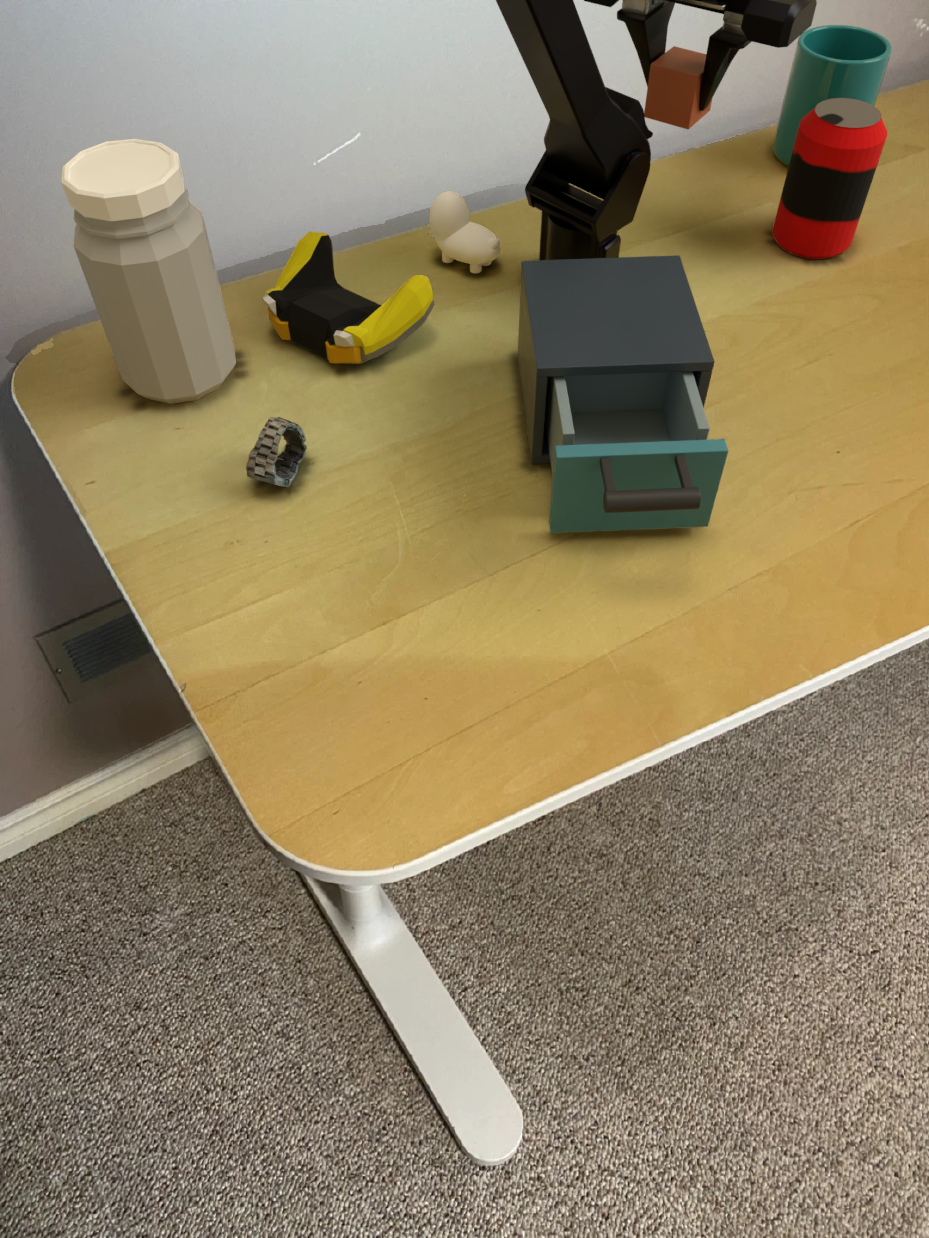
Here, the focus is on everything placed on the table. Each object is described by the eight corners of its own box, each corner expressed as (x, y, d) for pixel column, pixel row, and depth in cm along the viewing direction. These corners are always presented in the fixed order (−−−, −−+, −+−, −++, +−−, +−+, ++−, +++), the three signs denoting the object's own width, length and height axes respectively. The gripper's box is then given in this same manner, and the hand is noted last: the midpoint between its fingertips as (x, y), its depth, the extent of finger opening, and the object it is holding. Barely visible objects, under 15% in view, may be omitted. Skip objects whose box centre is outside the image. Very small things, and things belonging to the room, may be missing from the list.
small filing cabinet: (692, 458, 75) (715, 361, 68) (531, 464, 75) (536, 368, 67) (662, 350, 83) (679, 254, 76) (517, 356, 83) (521, 260, 76)
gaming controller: (320, 275, 91) (245, 326, 86) (312, 220, 87) (232, 270, 82) (445, 331, 85) (372, 389, 80) (443, 276, 81) (366, 333, 76)
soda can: (754, 235, 94) (785, 109, 85) (807, 210, 97) (842, 85, 88) (814, 270, 91) (853, 142, 81) (867, 243, 93) (911, 116, 84)
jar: (179, 325, 86) (120, 121, 72) (263, 361, 83) (218, 154, 69) (99, 384, 81) (19, 177, 67) (184, 425, 78) (119, 215, 64)
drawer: (721, 574, 66) (744, 496, 60) (556, 581, 66) (564, 503, 60) (676, 413, 77) (693, 333, 71) (534, 419, 77) (539, 339, 71)
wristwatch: (269, 481, 76) (239, 475, 71) (294, 420, 75) (265, 410, 70) (302, 497, 75) (273, 492, 70) (327, 436, 74) (300, 426, 70)
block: (643, 117, 87) (650, 63, 83) (665, 98, 89) (673, 46, 85) (688, 130, 85) (697, 76, 82) (710, 110, 87) (720, 57, 84)
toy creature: (444, 237, 95) (442, 175, 90) (512, 262, 92) (514, 199, 87) (416, 259, 92) (413, 196, 88) (486, 285, 90) (486, 222, 85)
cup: (876, 137, 106) (912, 25, 97) (840, 185, 100) (875, 70, 91) (798, 118, 109) (826, 8, 100) (758, 163, 103) (784, 49, 94)
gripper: (867, -116, 75) (811, 94, 87) (652, -152, 81) (629, 48, 94) (813, -75, 69) (762, 143, 81) (587, -118, 76) (571, 90, 88)
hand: (678, 102), depth 86 cm, fingers closed on block, 4 cm apart
